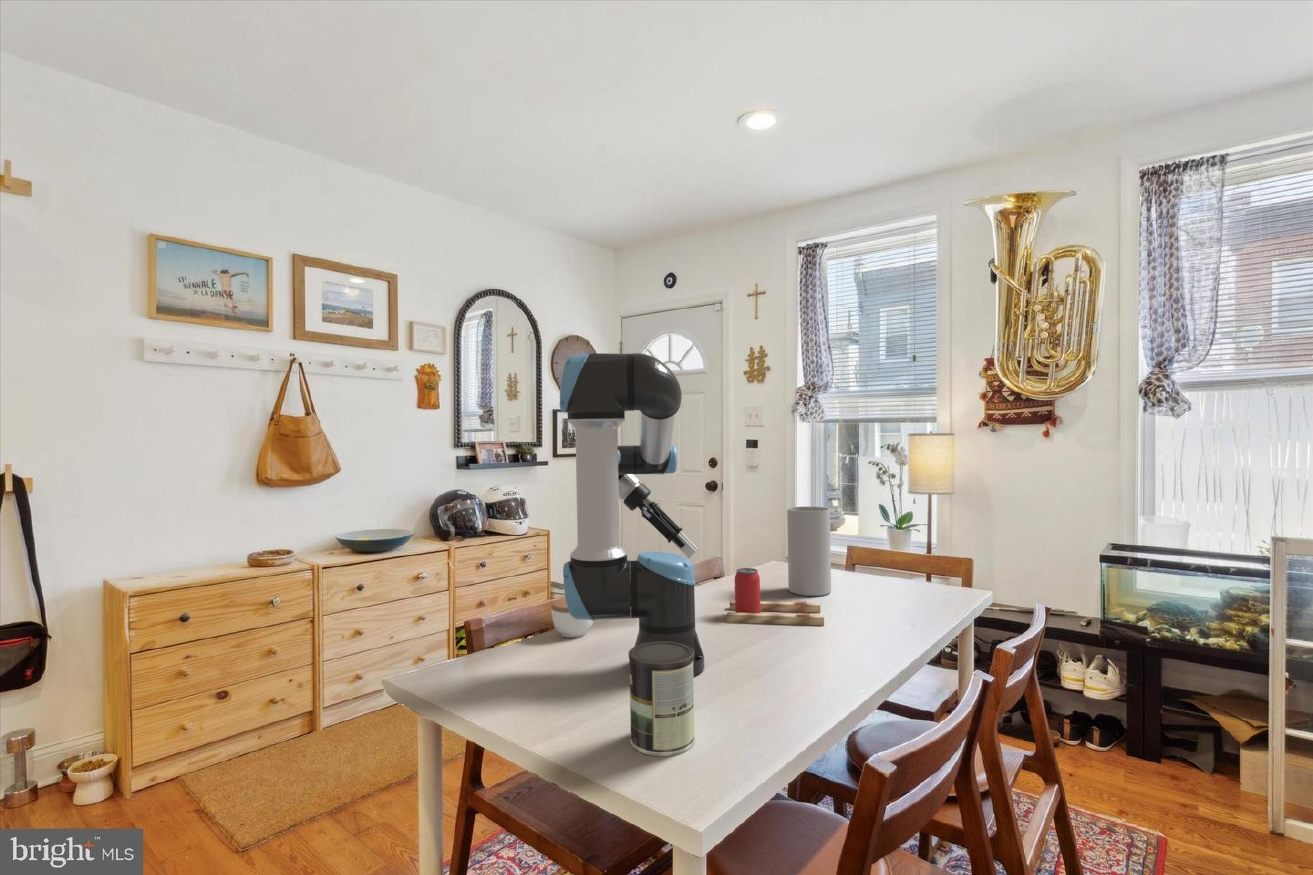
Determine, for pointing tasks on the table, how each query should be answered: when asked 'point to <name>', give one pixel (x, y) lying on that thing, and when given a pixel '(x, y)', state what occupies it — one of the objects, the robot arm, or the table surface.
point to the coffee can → (661, 698)
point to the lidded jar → (568, 620)
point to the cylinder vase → (809, 551)
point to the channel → (780, 618)
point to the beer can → (747, 591)
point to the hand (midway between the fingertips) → (693, 553)
